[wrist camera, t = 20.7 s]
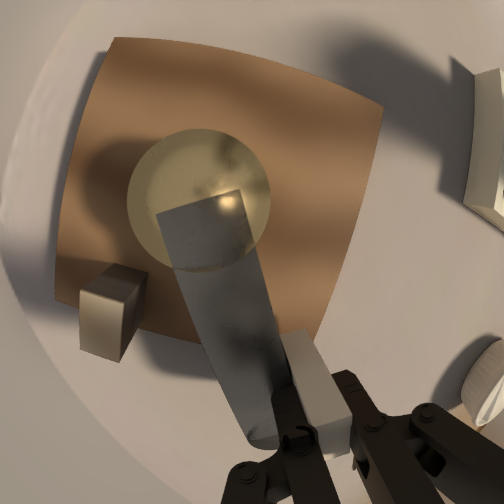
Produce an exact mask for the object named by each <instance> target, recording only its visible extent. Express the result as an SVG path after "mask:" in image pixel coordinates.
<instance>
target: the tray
mask: <svg viewBox="0 0 504 504" xmlns="http://www.w3.org/2000/svg"><path fill="white" fill-rule="evenodd" d="M474 77H475V111H474V129H473V141H472V151H471V159H470V166H469V173H468V179H467V184H466V190H465V195H464V200H463V204H464V205H466V206H467V207H469V208H470V209H472V210H473V211H475V212H476V213H477V214H479V215H480V216H482V217H483V218H485V219H486V220H487V221H489V222H490V223H491V224H493V225H494V226H495V227H497V228H498V229H499V230H501V231H502V232H503V233H504V193H503V190H504V72H503V71H502V70H501V69H500V68H498V69H494V70H490V71H487V72H483V73H480V74H477V75H474Z"/></svg>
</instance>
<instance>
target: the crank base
mask: <svg viewBox="0 0 504 504" xmlns="http://www.w3.org/2000/svg"><path fill="white" fill-rule="evenodd" d="M383 110H384V107H383V106H381V105H379V104H377V103H375V102H373V101H372V100H370V99H368V98H365V97H363V96H361V95H359V94H357V93H355V92H353V91H351V90H348V89H346V88H344V87H342V86H339V85H337V84H335V83H332V82H330V81H328V80H325V79H323V78H320V77H317V76H315V75H312V74H310V73H307V72H304V71H301V70H298V69H295V68H293V67H290V66H286V65H283V64H280V63H277V62H274V61H270V60H267V59H263V58H260V57H256V56H252V55H248V54H244V53H240V52H236V51H232V50H227V49H222V48H217V47H212V46H206V45H201V44H194V43H187V42H180V41H171V40H162V39H149V38H129V37H115V38H114V40H113V42H112V44H111V46H110V48H109V50H108V52H107V54H106V56H105V59H104V61H103V63H102V65H101V68H100V70H99V72H98V75H97V77H96V80H95V82H94V85H93V87H92V90H91V92H90V95H89V98H88V101H87V104H86V106H85V109H84V112H83V116H82V119H81V122H80V125H79V128H78V132H77V135H76V139H75V143H74V146H73V150H72V154H71V158H70V163H69V167H68V172H67V177H66V182H65V187H64V193H63V198H62V205H61V212H60V219H59V227H58V237H57V249H56V265H55V300H57V301H60V302H63V303H65V304H68V305H70V306H73V307H76V308H79V334H80V349H81V350H83V351H86V352H88V353H91V354H94V355H97V356H100V357H102V358H105V359H108V360H111V361H114V362H117V363H119V362H120V360H121V358H122V357H123V355H124V353H125V351H126V349H127V347H128V345H129V343H130V341H131V340H132V338H133V336H134V334H135V332H136V330H137V329H138V328H140V329H144V330H147V331H151V332H154V333H158V334H162V335H166V336H170V337H174V338H178V339H182V340H186V341H190V342H194V343H199V344H202V343H201V340H200V338H199V335H198V333H197V331H196V328H195V326H194V323H193V321H192V318H191V316H190V313H189V310H188V308H187V305H186V303H185V300H184V297H183V295H182V292H181V289H180V286H179V284H178V281H177V278H176V275H175V273H174V270H173V268H171V267H169V266H166V265H164V264H163V263H161V262H159V261H158V260H156V259H155V258H154V257H153V256H151V255H150V254H149V253H148V252H147V251H146V250H145V249H144V248H143V246H142V245H141V244H140V242H139V241H138V239H137V237H136V236H135V234H134V232H133V229H132V227H131V224H130V221H129V216H128V210H127V193H128V186H129V183H130V179H131V176H132V174H133V172H134V169H135V167H136V166H137V164H138V162H139V161H140V159H141V158H142V157H143V155H144V154H145V153H146V152H147V151H148V150H149V149H150V148H151V147H152V146H153V145H155V144H156V143H157V142H159V141H160V140H162V139H163V138H165V137H167V136H169V135H171V134H174V133H176V132H179V131H183V130H188V129H211V130H217V131H220V132H223V133H226V134H228V135H230V136H233V137H234V138H236V139H238V140H239V141H241V142H242V143H243V144H245V145H246V146H247V147H248V148H249V149H250V150H251V151H252V152H253V153H254V154H255V155H256V157H257V158H258V160H259V161H260V163H261V164H262V166H263V168H264V170H265V173H266V176H267V179H268V182H269V187H270V195H271V204H270V213H269V218H268V221H267V224H266V227H265V229H264V231H263V233H262V235H261V237H260V239H259V240H258V242H257V243H256V244H255V247H256V250H257V254H258V258H259V262H260V265H261V269H262V273H263V276H264V280H265V284H266V288H267V291H268V295H269V299H270V302H271V306H272V310H273V314H274V317H275V321H276V325H277V329H278V332H279V335H281V334H285V333H289V332H293V331H297V330H301V329H304V328H306V330H307V332H308V334H309V335H310V337H311V339H312V341H314V338H315V336H316V333H317V331H318V329H319V326H320V324H321V321H322V319H323V316H324V314H325V311H326V308H327V306H328V303H329V301H330V298H331V295H332V293H333V290H334V287H335V284H336V282H337V279H338V276H339V273H340V270H341V268H342V265H343V262H344V259H345V256H346V253H347V250H348V247H349V244H350V240H351V237H352V234H353V231H354V228H355V224H356V221H357V218H358V214H359V211H360V207H361V204H362V200H363V197H364V193H365V189H366V186H367V182H368V178H369V174H370V170H371V166H372V162H373V158H374V153H375V149H376V145H377V140H378V135H379V131H380V126H381V121H382V116H383Z"/></svg>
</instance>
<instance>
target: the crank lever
mask: <svg viewBox="0 0 504 504" xmlns="http://www.w3.org/2000/svg"><path fill="white" fill-rule="evenodd" d="M270 204H271V195H270V187H269V182H268V179H267V176H266V173H265V170H264V168H263V166H262V164H261V163H260V161H259V160H258V158H257V157H256V155H255V154H254V153H253V152H252V151H251V150H250V149H249V148H248V147H247V146H246V145H245V144H243V143H242V142H241V141H239V140H238V139H236V138H234V137H233V136H230V135H228V134H226V133H223V132H220V131H217V130H211V129H188V130H183V131H179V132H176V133H174V134H171V135H169V136H167V137H165V138H163V139H162V140H160V141H159V142H157V143H156V144H155V145H153V146H152V147H151V148H150V149H149V150H148V151H147V152H146V153H145V154H144V155H143V157H142V158H141V159H140V161H139V162H138V164H137V166H136V167H135V169H134V172H133V174H132V176H131V179H130V183H129V186H128V193H127V210H128V216H129V221H130V224H131V227H132V229H133V232H134V234H135V236H136V237H137V239H138V241H139V242H140V244H141V245H142V246H143V248H144V249H145V250H146V251H147V252H148V253H149V254H150V255H151V256H153V257H154V258H155V259H156V260H158V261H159V262H161V263H163V264H164V265H166V266H169V267H171V268H173V270H174V273H175V275H176V278H177V281H178V284H179V286H180V289H181V292H182V295H183V297H184V300H185V303H186V305H187V308H188V310H189V313H190V316H191V318H192V321H193V323H194V326H195V328H196V331H197V333H198V335H199V338H200V340H201V343H202V345H203V347H204V350H205V352H206V355H207V357H208V359H209V361H210V364H211V366H212V368H213V370H214V373H215V375H216V377H217V379H218V382H219V384H220V386H221V388H222V390H223V392H224V394H225V397H226V399H227V401H228V403H229V405H230V407H231V409H232V411H233V413H234V415H235V417H236V419H237V421H238V423H239V425H240V427H241V429H242V431H243V433H244V435H245V437H246V438H247V440H248V442H249V443H250V444H251V445H252V446H253V447H255V448H258V449H262V450H277V449H278V448H279V445H280V443H279V435H278V431H277V426H276V422H275V417H274V413H273V408H272V404H271V396H272V393H273V390H278V389H282V388H286V387H290V386H293V385H292V381H291V378H290V374H289V370H288V366H287V362H286V359H285V355H284V351H283V347H282V344H281V340H280V336H279V332H278V329H277V325H276V321H275V317H274V314H273V310H272V306H271V302H270V299H269V295H268V291H267V288H266V284H265V280H264V276H263V273H262V269H261V265H260V262H259V258H258V254H257V250H256V247H255V244H256V243H257V242H258V240H259V239H260V237H261V235H262V233H263V231H264V229H265V227H266V224H267V221H268V218H269V213H270Z"/></svg>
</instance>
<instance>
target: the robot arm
mask: <svg viewBox="0 0 504 504" xmlns="http://www.w3.org/2000/svg"><path fill="white" fill-rule="evenodd" d="M279 336H280V340H281V344H282V347H283V351H284V355H285V359H286V362H287V366H288V370H289V374H290V378H291V381H292V385H293V386H290V387H286V388H282V389H278V390H273V393H272V396H271V404H272V408H273V413H274V417H275V422H276V426H277V431H278V435H279V443H280V445H279V448H278V450H277V452H276V453H275V454H274V455H273V456H271V457H270V458H268V459H266V460H264V461H262V462H259V463H257V462H253V461H247V462H242V463H239V464H237V465H235V466H234V467H233V468H232V469H231V471H230V473H229V474H228V478H227V482H226V486H225V490H224V493H223V497H222V501H221V504H277V502H279V501H281V500H283V499H285V498H287V497H289V496H291V495H292V497H293V501H294V504H341V503H340V500H339V498H338V495H337V492H336V489H335V487H334V484H333V481H332V478H331V476H330V473H329V470H328V467H327V465H326V462H325V461H326V460H329V459H332V458H335V457H339V456H342V455H345V454H347V453H350V447H351V450H352V452H353V454H354V458H353V465H352V467H353V470H356V468H357V470H358V473H359V475H360V477H361V479H362V481H363V484H364V486H365V488H366V490H367V493H368V495H369V497H370V499H371V502H372V504H445V503H444V501H443V500H442V498H441V497H440V495H439V493H438V492H437V490H436V488H437V489H438V490H439V491H441V492H442V493H443V494H444V495H445V496H447V497H448V498H449V499H450V500H451V501H453V502H454V503H455V504H504V449H502V448H501V447H499V446H498V445H496V444H495V443H493V442H492V441H490V440H488V439H487V438H486V437H484V436H483V435H481V434H480V433H478V432H477V431H475V430H474V429H472V428H471V427H469V426H468V425H466V424H465V423H463V422H462V421H460V420H459V419H457V418H456V417H454V416H453V415H451V414H450V413H448V412H447V411H445V410H444V409H443V408H441V407H440V406H438V405H436V404H434V403H423V404H420V405H418V406H417V407H415V409H414V410H413V411H412V414H407V415H402V416H387V415H386V414H384V413H382V412H380V411H379V410H378V409H377V407H376V406H375V404H374V403H373V401H372V400H371V398H370V397H369V395H368V394H367V392H366V390H365V389H364V387H363V386H362V384H361V383H360V381H359V380H358V378H357V377H356V375H355V374H354V373H352V372H350V371H349V370H347V369H346V370H343V371H340V372H337V373H334V374H330V372H329V370H328V368H327V367H326V365H325V363H324V361H323V359H322V357H321V356H320V354H319V352H318V350H317V348H316V346H315V345H314V343H313V341H312V339H311V337H310V335H309V334H308V332H307V330H306V328H304V329H301V330H297V331H293V332H289V333H285V334H281V335H279ZM434 486H435V487H436V488H435V487H434Z"/></svg>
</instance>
